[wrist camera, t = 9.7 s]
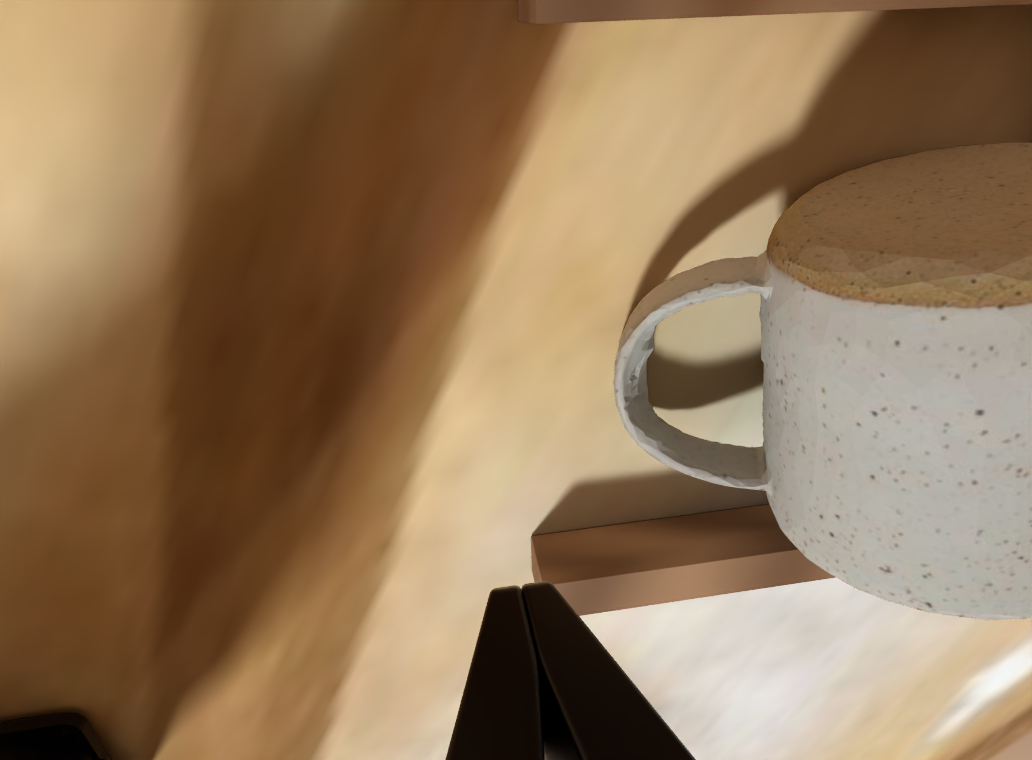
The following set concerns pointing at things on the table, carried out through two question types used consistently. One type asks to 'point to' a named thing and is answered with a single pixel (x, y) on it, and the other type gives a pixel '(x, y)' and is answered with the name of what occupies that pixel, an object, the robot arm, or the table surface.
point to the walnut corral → (699, 537)
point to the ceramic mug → (884, 378)
